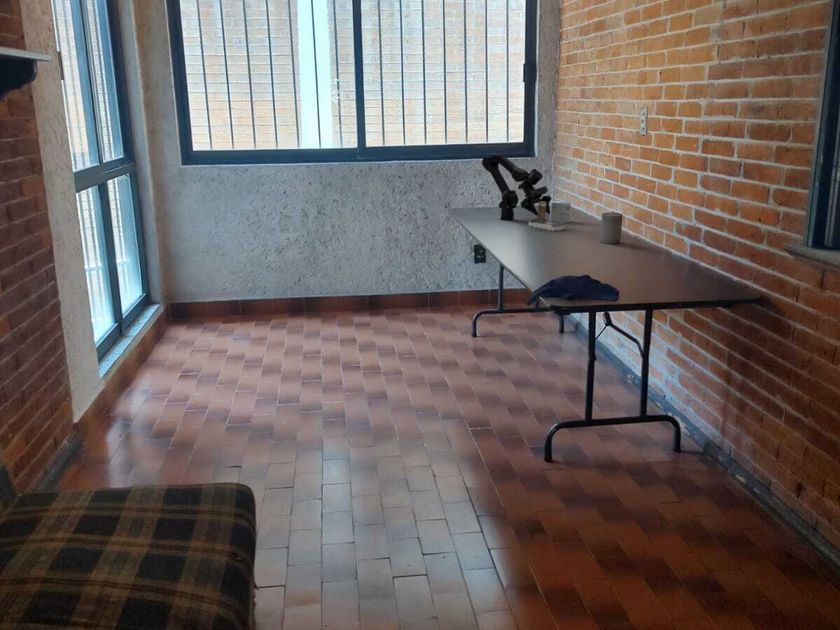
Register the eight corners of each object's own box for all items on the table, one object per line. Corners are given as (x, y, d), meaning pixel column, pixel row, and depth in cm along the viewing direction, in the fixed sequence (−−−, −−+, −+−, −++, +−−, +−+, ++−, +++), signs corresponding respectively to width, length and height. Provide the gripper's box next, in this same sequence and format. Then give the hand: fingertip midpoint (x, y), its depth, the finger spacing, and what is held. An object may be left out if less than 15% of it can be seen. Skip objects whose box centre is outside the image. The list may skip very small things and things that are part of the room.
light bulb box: (568, 220, 420) (570, 201, 417) (569, 222, 414) (571, 203, 410) (549, 219, 421) (550, 200, 418) (549, 221, 415) (551, 202, 411)
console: (528, 225, 401) (529, 218, 399) (540, 224, 406) (540, 217, 405) (552, 231, 388) (553, 223, 387) (564, 229, 394) (565, 222, 392)
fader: (535, 221, 399) (536, 201, 396) (541, 221, 402) (543, 201, 399) (540, 222, 396) (541, 202, 393) (546, 222, 400) (548, 201, 396)
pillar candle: (620, 241, 368) (623, 210, 363) (620, 244, 358) (623, 213, 354) (599, 239, 370) (602, 209, 366) (599, 243, 361) (601, 212, 356)
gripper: (526, 182, 390) (540, 206, 385) (550, 180, 402) (564, 203, 397) (514, 195, 399) (528, 219, 394) (538, 193, 410) (552, 216, 405)
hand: (543, 214), depth 397 cm, fingers open, 9 cm apart
